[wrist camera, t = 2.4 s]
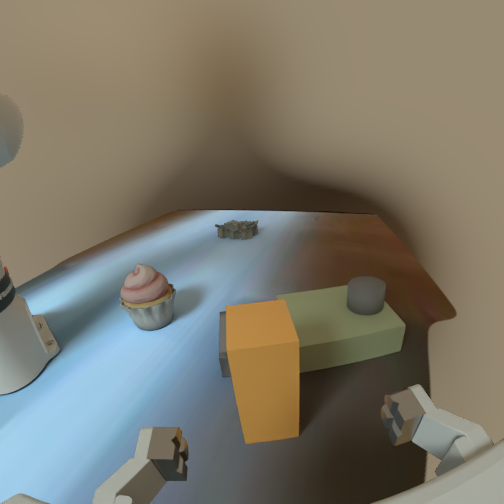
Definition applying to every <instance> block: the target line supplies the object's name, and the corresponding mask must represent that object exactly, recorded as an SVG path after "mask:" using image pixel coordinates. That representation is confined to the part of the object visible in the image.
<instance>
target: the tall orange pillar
mask: <svg viewBox="0 0 504 504" xmlns="http://www.w3.org/2000/svg"><path fill="white" fill-rule="evenodd" d="M226 347H227V355H228V361H229V366H230V371H231V376H232V381H233V386H234V391H235V396H236V401H237V406H238V411H239V415H240V420H241V425H242V429H243V434H244V438H245V443H246V444H248V443H257V442H266V441H273V440H280V439H287V438H293V437H299V339H298V336H297V333H296V330H295V327H294V325H293V322H292V319H291V316H290V313H289V310H288V308H287V305H286V302H285V299H281V300H274V301H266V302H258V303H250V304H241V305H233V306H226Z"/></svg>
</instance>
